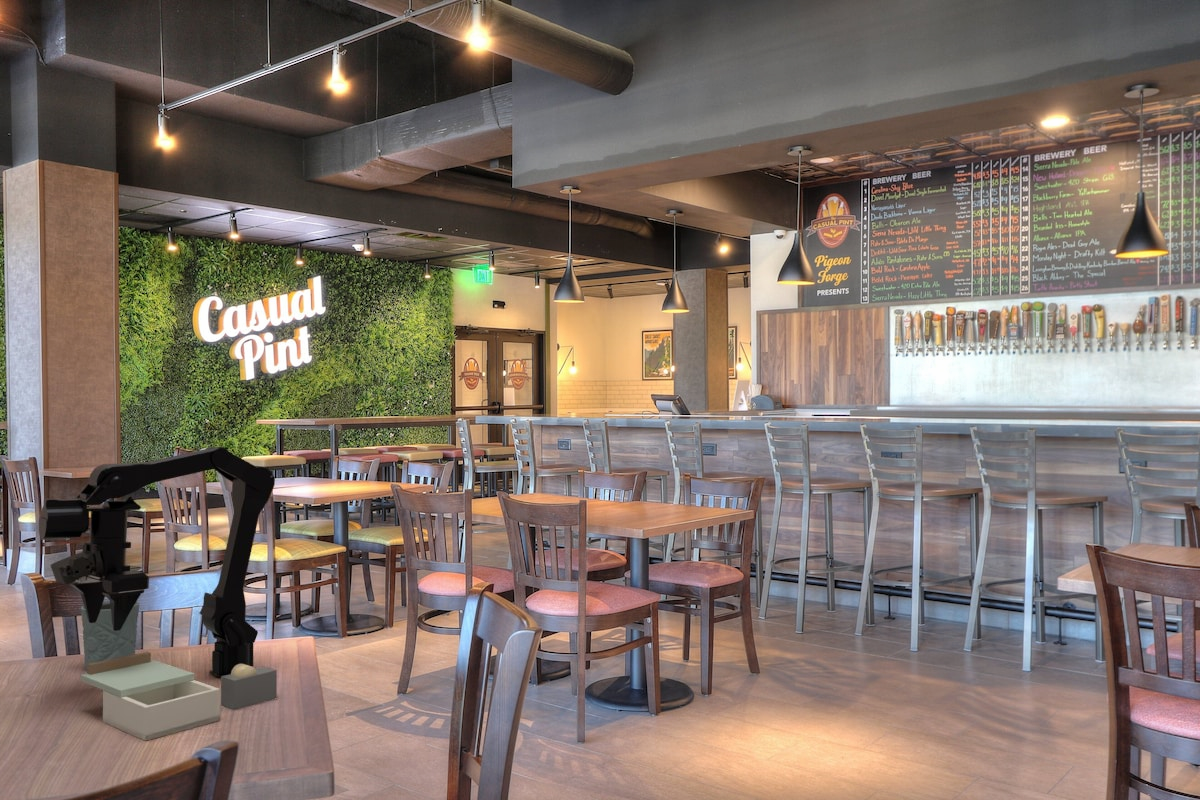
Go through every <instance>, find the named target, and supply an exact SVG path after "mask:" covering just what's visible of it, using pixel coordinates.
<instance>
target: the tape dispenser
mask: <svg viewBox="0 0 1200 800" xmlns="http://www.w3.org/2000/svg"><path fill="white" fill-rule="evenodd" d="M277 671H278V670H277V669H274V668H271V667H268V666H260V667H256V668H255V667H254V666H253V667H252V666H248V665H245V664H238V665H236V666H235V667H234V668H233V669H232V671H231V674H230V675H225V676H221V677H220V707H221V706H222V707H224V708H227V709H229V710H232V711H235V710H236V711H237V710H239V709H243V708H246V707H248V708H249V707H250V706H255V705H259V704H261V703H266V702H269V701H273V700H276V699H275V698H277V697H278V696H277V695H278V692H277V691H278V690H277V686H278V685H277V684H278V683H277V682H278V681H277V679H278V678H277V677H278V675H277V673H278V672H277ZM272 699H273V700H272ZM277 699H278V698H277ZM265 701H266V702H265Z"/></svg>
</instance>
